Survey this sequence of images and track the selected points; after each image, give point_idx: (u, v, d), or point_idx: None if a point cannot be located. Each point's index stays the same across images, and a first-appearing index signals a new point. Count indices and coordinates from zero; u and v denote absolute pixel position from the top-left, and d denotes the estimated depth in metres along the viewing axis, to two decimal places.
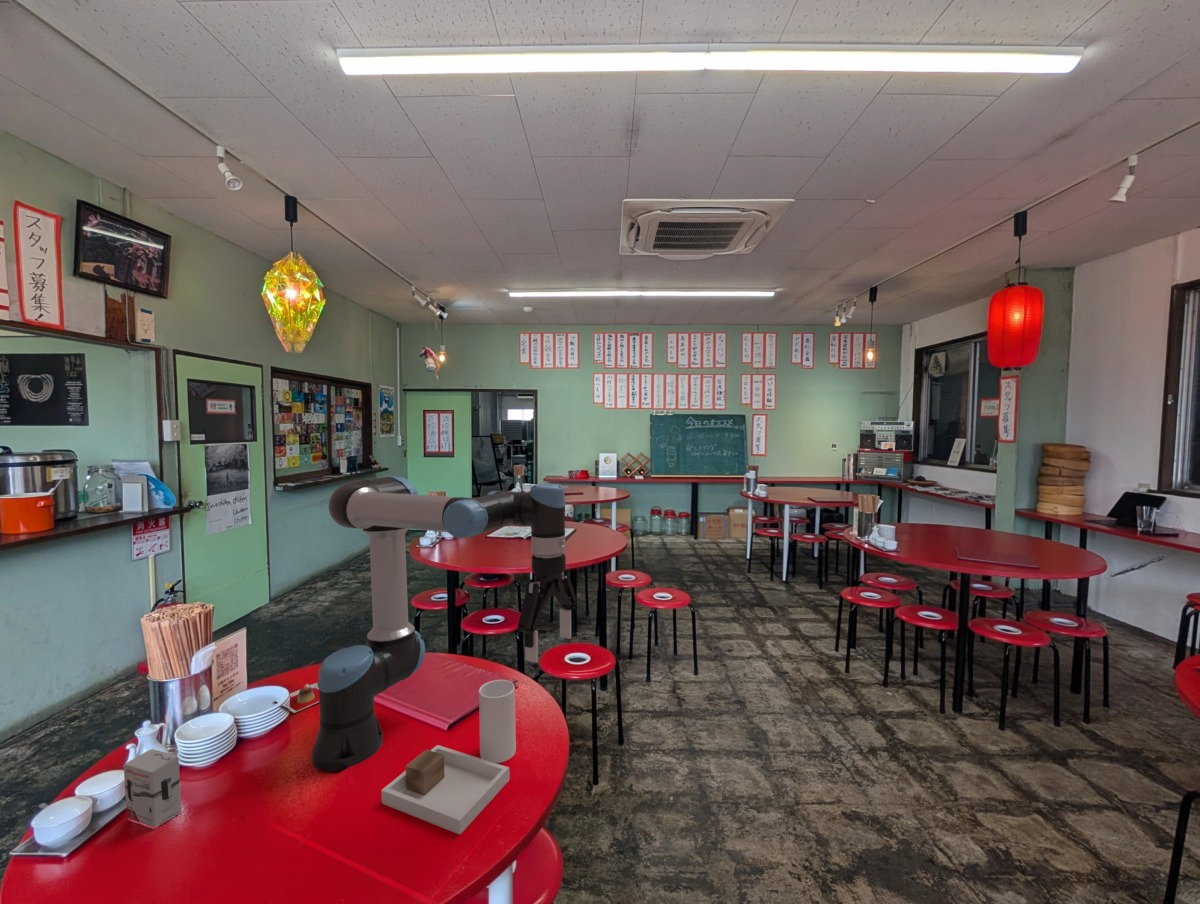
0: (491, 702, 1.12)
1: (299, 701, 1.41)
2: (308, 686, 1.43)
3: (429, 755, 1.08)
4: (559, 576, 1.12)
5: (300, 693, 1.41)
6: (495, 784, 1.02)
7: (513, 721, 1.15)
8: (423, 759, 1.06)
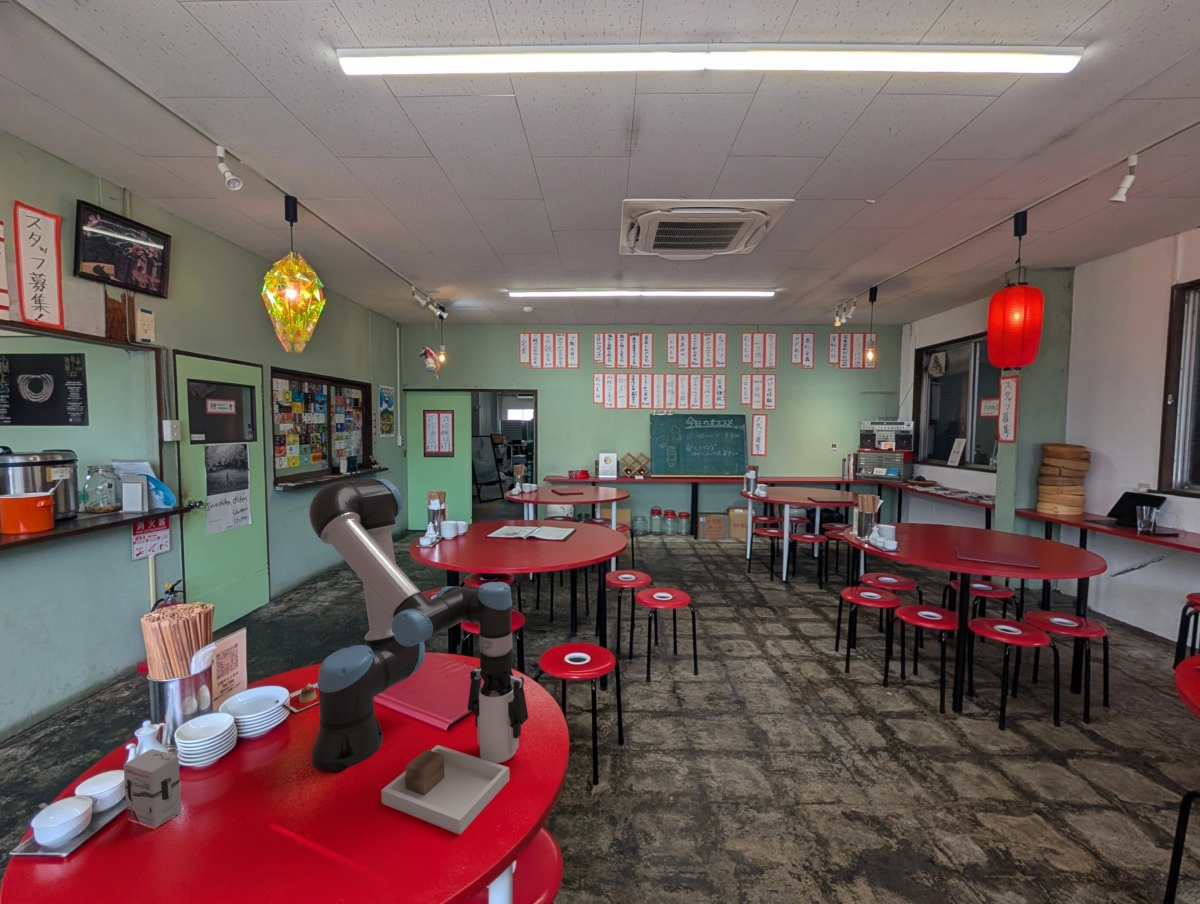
0: (491, 702, 1.12)
1: (301, 700, 1.41)
2: (310, 685, 1.44)
3: (429, 755, 1.08)
4: (503, 677, 1.14)
5: (302, 692, 1.42)
6: (495, 784, 1.02)
7: None
8: (423, 759, 1.06)
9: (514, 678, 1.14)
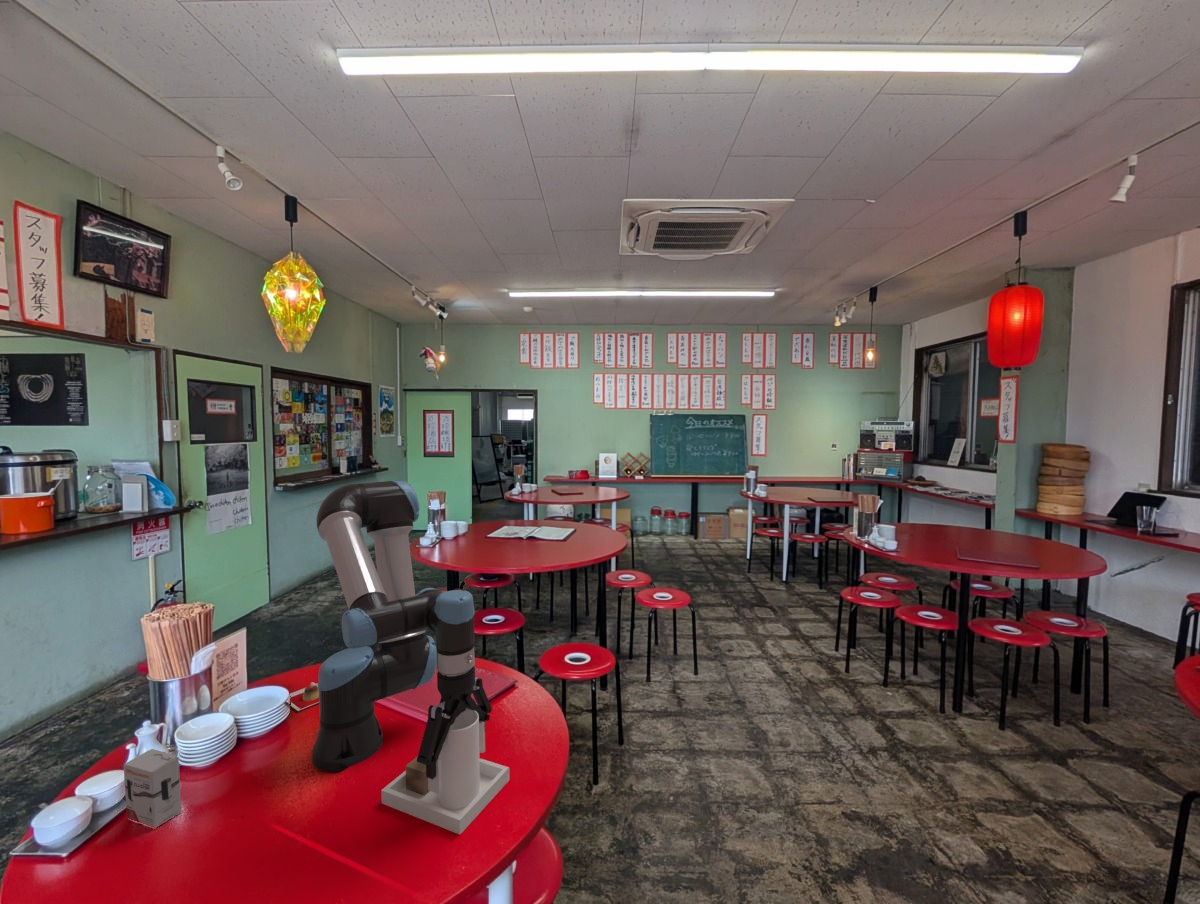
0: (477, 725, 1.02)
1: (304, 699, 1.42)
2: (313, 684, 1.44)
3: None
4: (469, 690, 1.04)
5: (305, 691, 1.43)
6: (495, 784, 1.02)
7: None
8: None
9: None
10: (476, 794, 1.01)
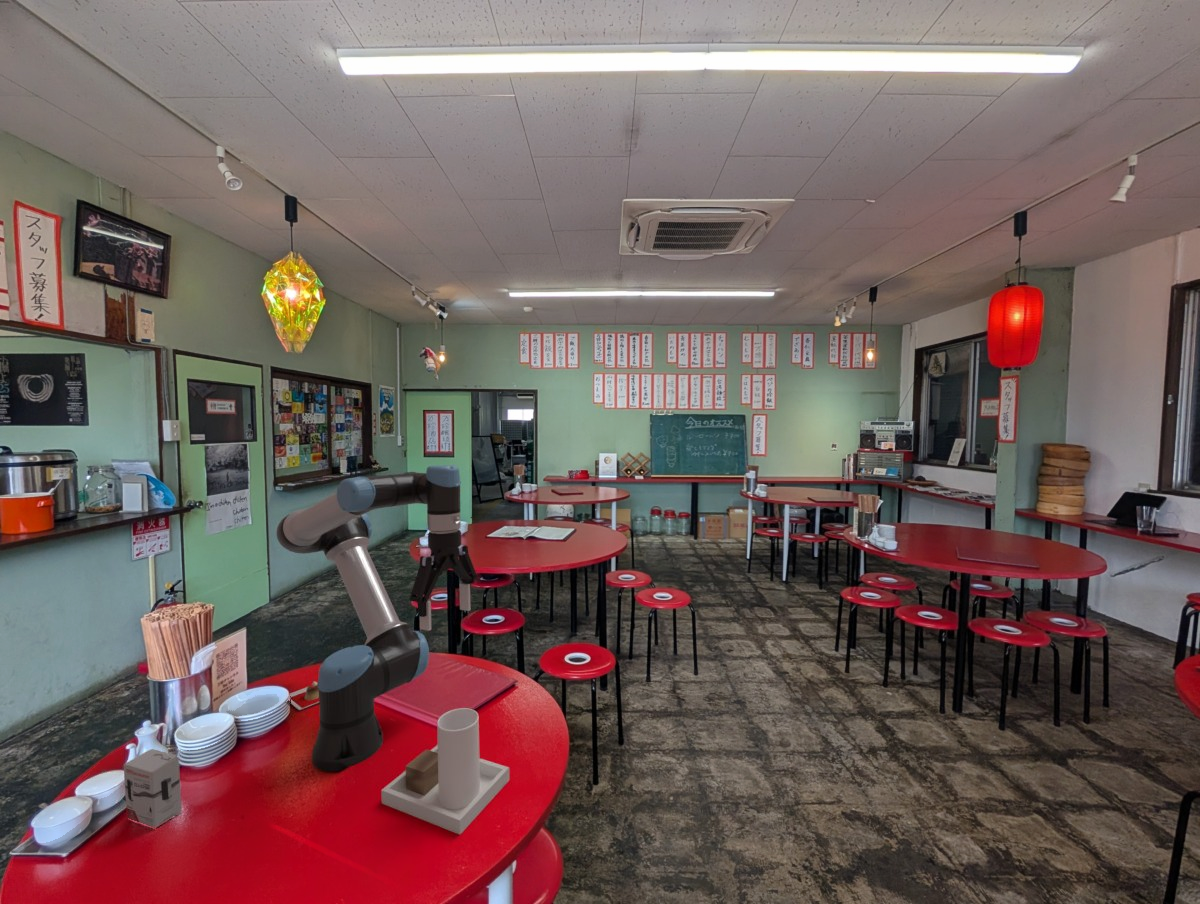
0: (477, 725, 1.02)
1: (306, 698, 1.42)
2: (316, 683, 1.45)
3: (429, 755, 1.08)
4: (456, 551, 1.19)
5: (307, 690, 1.43)
6: (495, 784, 1.02)
7: None
8: (423, 759, 1.06)
9: (459, 547, 1.22)
10: (476, 794, 1.01)
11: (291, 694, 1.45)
